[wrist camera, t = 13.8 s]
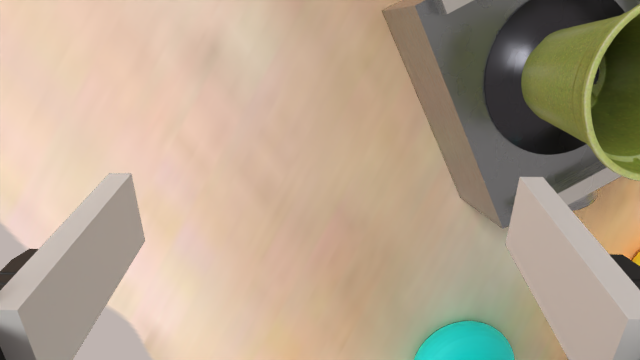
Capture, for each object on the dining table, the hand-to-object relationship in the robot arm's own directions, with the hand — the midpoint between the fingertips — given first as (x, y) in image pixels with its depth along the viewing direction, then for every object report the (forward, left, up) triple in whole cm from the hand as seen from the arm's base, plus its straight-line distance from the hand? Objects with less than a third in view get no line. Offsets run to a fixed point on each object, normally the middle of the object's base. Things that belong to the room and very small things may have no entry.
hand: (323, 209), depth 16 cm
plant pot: (+5, +18, -14) cm, 24 cm away
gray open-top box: (+7, +18, -21) cm, 29 cm away
